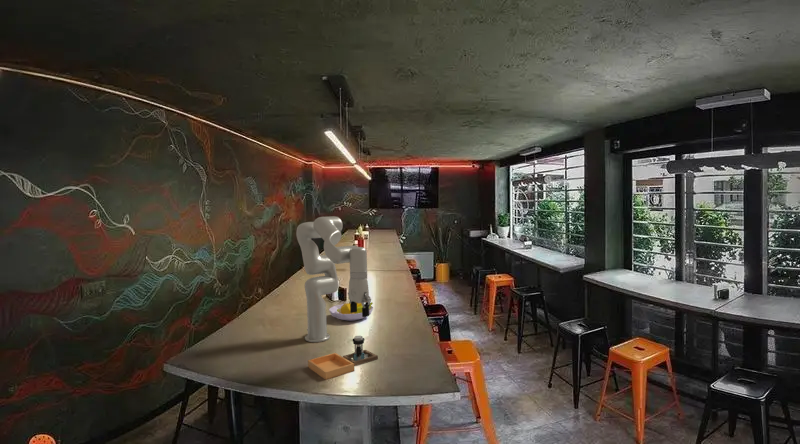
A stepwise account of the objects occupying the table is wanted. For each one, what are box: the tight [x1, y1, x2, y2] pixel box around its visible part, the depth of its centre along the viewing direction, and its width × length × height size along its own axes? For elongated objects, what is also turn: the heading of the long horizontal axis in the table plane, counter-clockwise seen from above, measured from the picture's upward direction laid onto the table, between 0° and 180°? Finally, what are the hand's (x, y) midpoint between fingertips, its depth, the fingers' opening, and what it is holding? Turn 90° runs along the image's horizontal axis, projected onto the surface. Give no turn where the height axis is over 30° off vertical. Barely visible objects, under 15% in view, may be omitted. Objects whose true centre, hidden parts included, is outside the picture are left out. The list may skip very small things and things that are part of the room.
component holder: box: [342, 349, 379, 367], centre depth 172 cm, size 10×12×2 cm
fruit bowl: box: [328, 301, 375, 322], centre depth 237 cm, size 28×27×11 cm
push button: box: [351, 335, 368, 361], centre depth 172 cm, size 7×5×10 cm
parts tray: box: [307, 352, 356, 381], centre depth 162 cm, size 16×13×3 cm
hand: (359, 314), depth 171 cm, fingers open, 9 cm apart
